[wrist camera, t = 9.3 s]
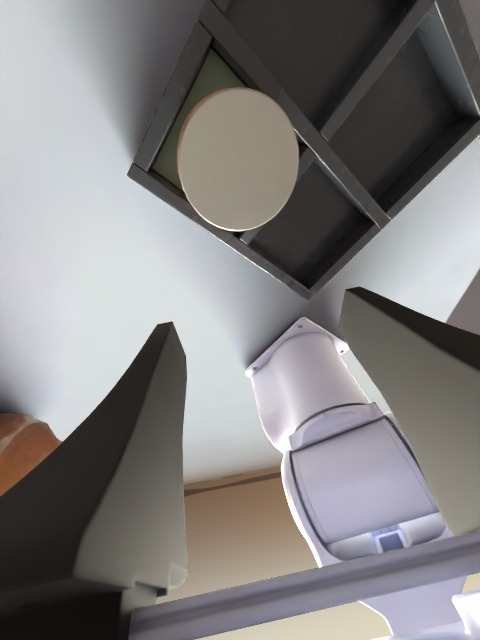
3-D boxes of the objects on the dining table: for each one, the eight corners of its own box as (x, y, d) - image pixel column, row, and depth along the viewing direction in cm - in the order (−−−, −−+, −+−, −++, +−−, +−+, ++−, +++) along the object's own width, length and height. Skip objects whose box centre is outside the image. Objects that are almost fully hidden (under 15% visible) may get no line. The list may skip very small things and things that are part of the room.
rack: (299, 288, 22) (308, 301, 20) (134, 170, 15) (126, 175, 13) (467, 115, 16) (500, 114, 14) (317, -230, 9) (347, -318, 7)
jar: (233, 216, 17) (249, 254, 12) (166, 165, 15) (151, 185, 10) (282, 146, 15) (327, 155, 10) (213, 73, 13) (226, 36, 7)
